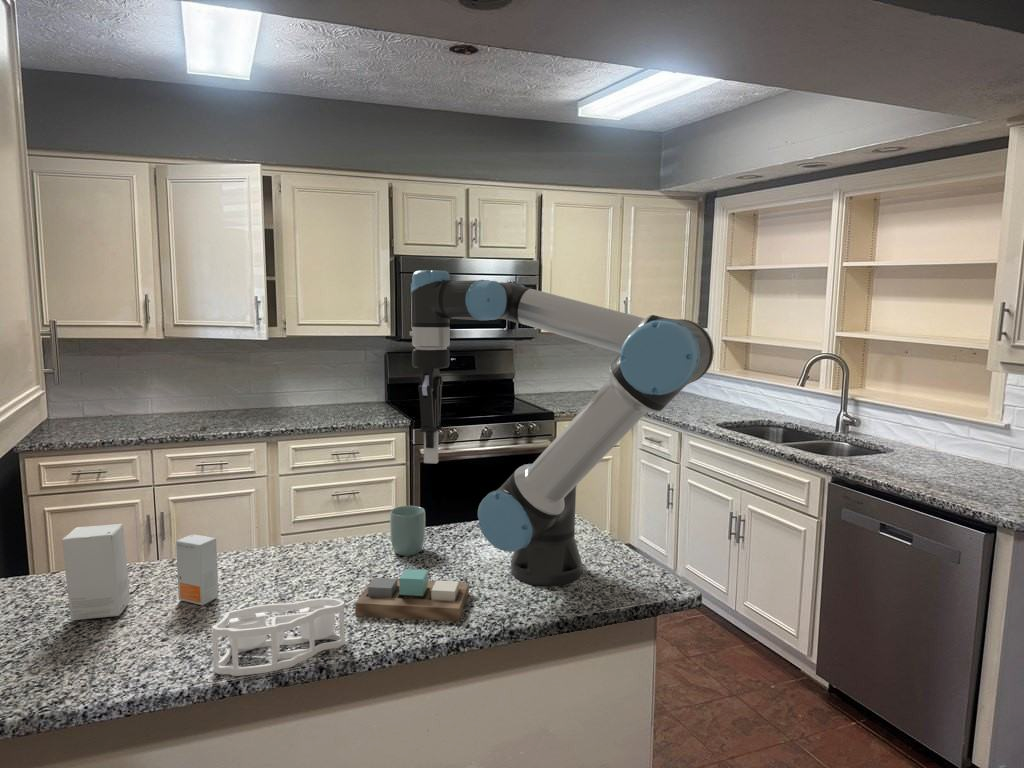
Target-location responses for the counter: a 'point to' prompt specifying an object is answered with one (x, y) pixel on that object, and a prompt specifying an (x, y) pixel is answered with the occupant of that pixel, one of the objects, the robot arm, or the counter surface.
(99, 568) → the skincare box
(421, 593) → the key
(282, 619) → the car outline toy
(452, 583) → the key
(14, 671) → the counter surface
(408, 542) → the cup
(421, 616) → the keypad
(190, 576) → the skincare box
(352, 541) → the counter surface
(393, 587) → the key
